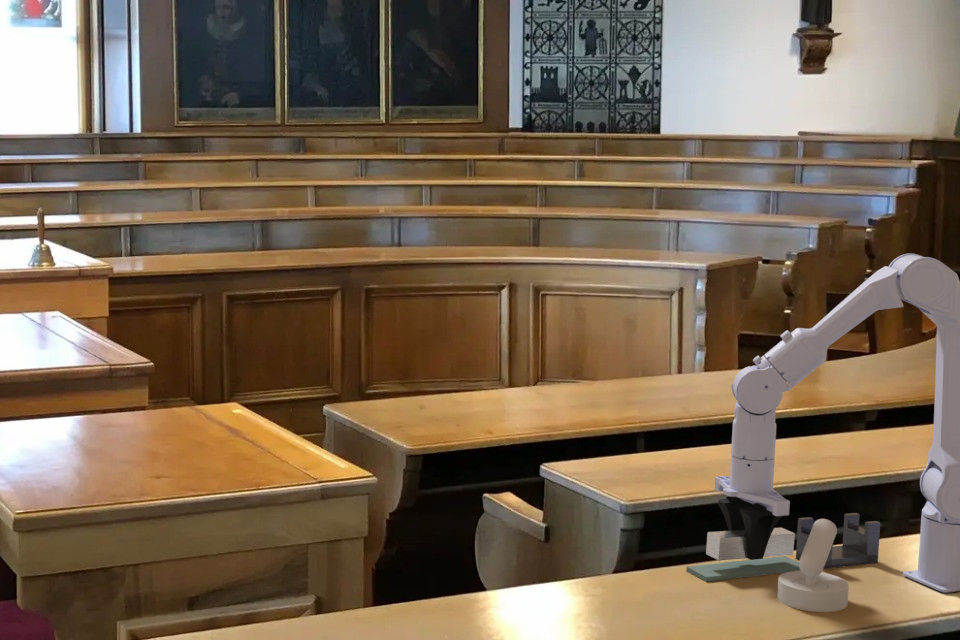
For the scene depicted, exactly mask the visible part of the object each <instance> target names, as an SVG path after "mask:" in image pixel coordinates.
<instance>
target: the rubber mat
mask: <svg viewBox="0 0 960 640" xmlns="http://www.w3.org/2000/svg"><path fill="white" fill-rule="evenodd" d="M685 570H686V572H688V573H690V574H691V575H693V576H695V577H697V578H699V579H701V581H704V582H714V581H715V582H716V581H723V580H733V579H734V580H735V579H742V578H752V577H758V576H759V577H760V576H769V575H776V574H783V573H786V572H791V571H801V570H800V568H799V561H797V560H794V559H792V558H790V557H788V556H787V555H785V556H771V557H763V559H755V560H750V559H746V560H745V559H744V560H737V561H736V560H735V561H727V562H726V561H725V562H718V563H707V564H699V565H689V566H686V569H685Z"/></svg>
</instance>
